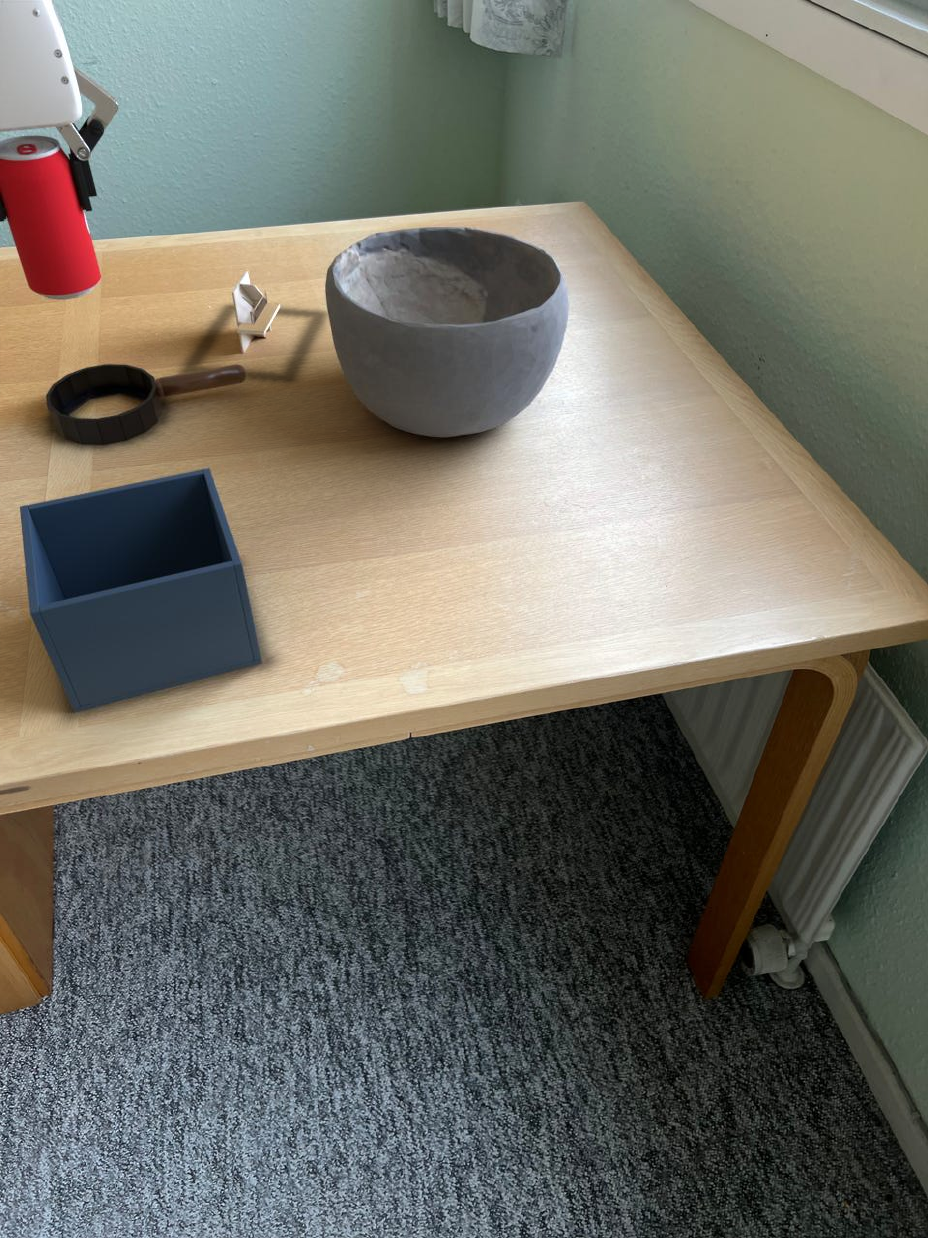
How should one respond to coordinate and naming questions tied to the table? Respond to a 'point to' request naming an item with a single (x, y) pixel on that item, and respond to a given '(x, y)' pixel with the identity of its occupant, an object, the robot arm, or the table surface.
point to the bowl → (446, 326)
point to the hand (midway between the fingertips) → (43, 208)
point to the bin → (137, 588)
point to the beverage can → (47, 217)
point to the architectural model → (252, 311)
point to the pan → (128, 383)
